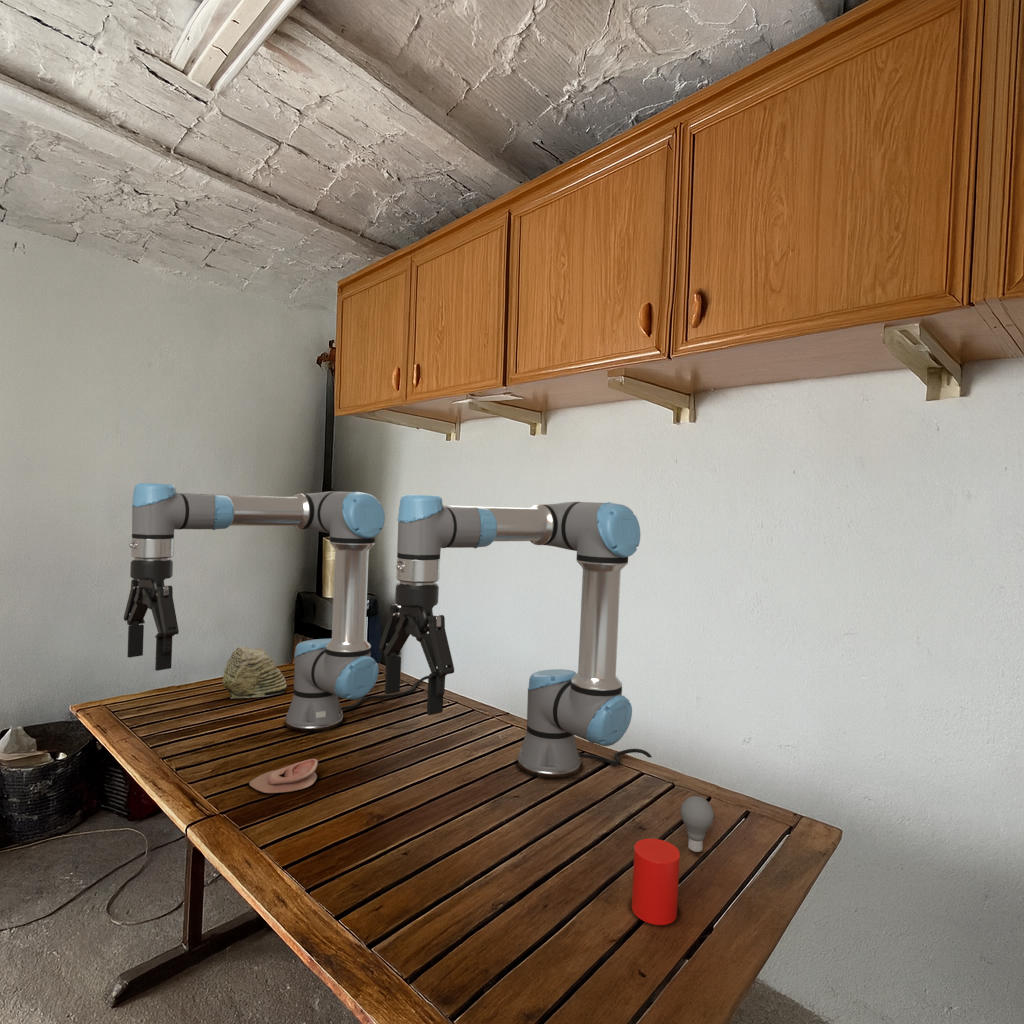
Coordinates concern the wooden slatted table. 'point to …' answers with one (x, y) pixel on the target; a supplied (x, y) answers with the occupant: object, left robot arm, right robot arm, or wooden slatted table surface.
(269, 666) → the fossil
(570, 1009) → the wooden slatted table surface
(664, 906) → the cylinder
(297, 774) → the anatomical model
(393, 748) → the wooden slatted table surface
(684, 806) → the light bulb
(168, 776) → the wooden slatted table surface
